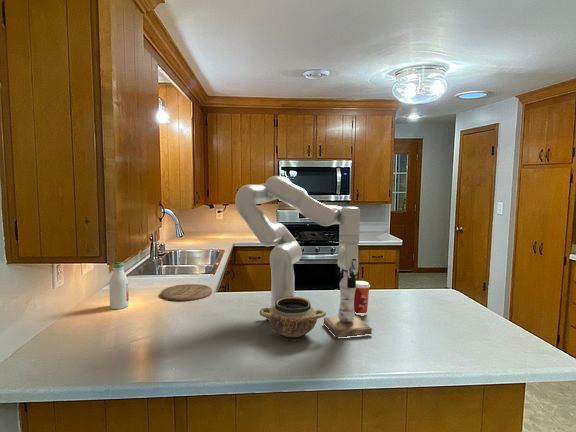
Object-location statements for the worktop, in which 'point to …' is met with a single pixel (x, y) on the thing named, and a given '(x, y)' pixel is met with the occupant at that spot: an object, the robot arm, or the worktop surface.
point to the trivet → (186, 292)
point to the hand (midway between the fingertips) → (347, 284)
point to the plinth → (347, 327)
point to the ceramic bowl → (292, 317)
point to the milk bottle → (118, 288)
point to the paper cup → (361, 297)
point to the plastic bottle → (346, 300)
